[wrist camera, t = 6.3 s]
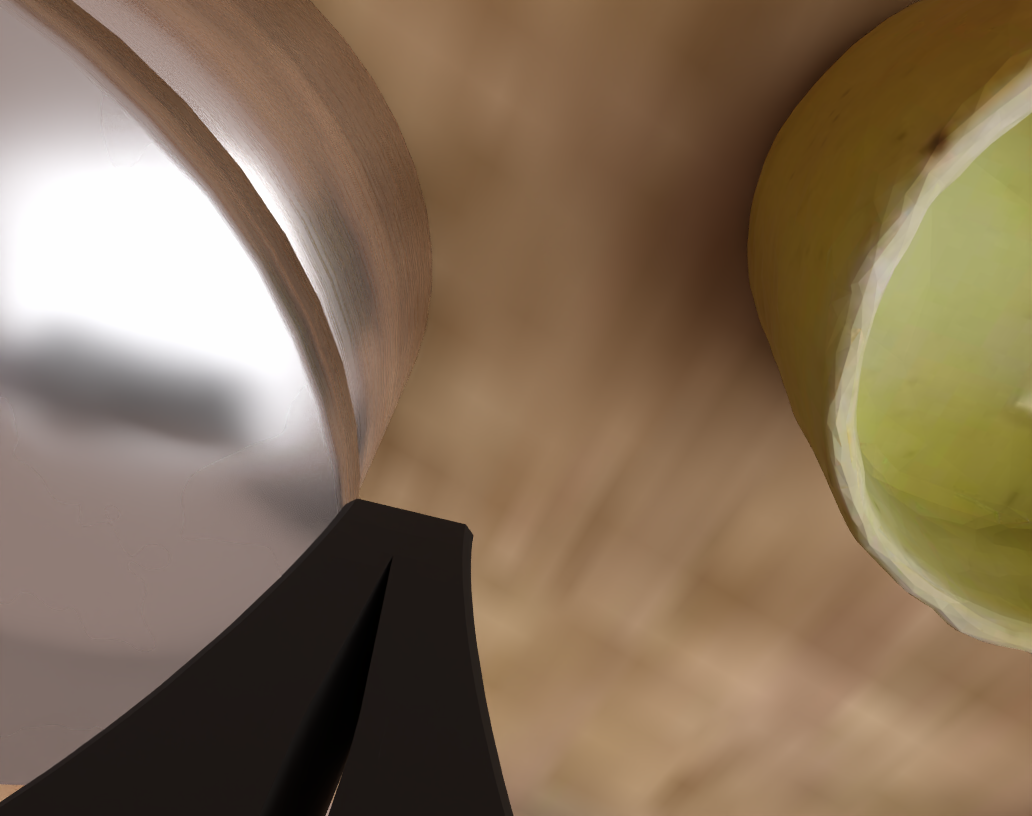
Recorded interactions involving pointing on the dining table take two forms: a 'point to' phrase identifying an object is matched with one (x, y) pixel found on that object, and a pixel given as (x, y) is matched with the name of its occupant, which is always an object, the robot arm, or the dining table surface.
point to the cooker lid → (140, 387)
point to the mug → (915, 300)
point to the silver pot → (308, 168)
